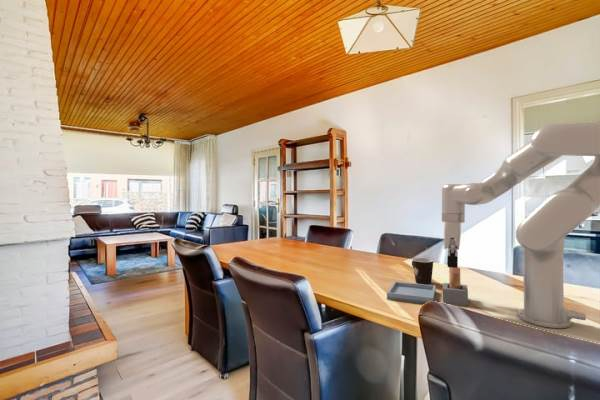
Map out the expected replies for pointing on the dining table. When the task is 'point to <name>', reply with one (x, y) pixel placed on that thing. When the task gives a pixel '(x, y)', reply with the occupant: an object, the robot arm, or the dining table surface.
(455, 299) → the socket block
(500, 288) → the dining table surface
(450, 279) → the dowel
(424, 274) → the coffee mug
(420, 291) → the tray
